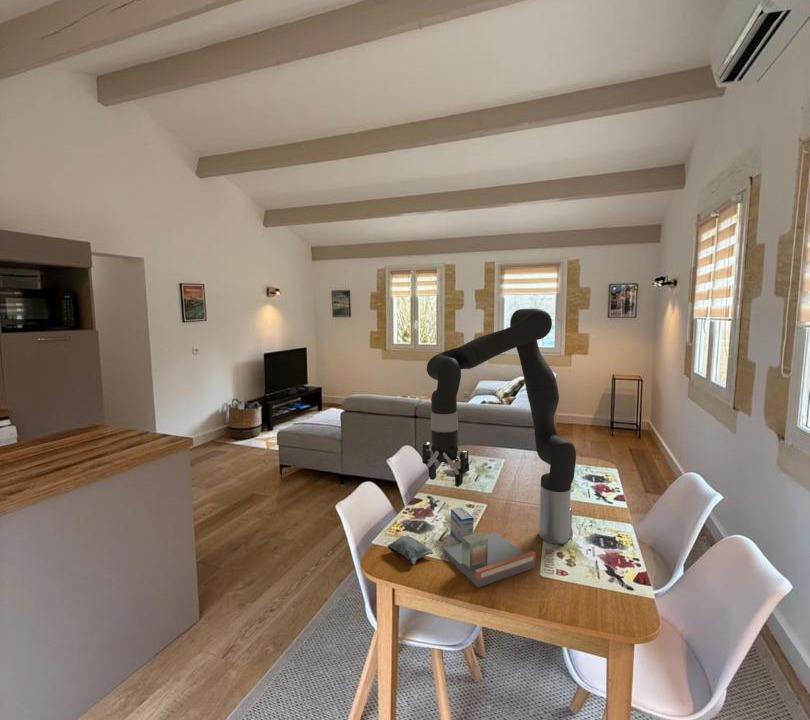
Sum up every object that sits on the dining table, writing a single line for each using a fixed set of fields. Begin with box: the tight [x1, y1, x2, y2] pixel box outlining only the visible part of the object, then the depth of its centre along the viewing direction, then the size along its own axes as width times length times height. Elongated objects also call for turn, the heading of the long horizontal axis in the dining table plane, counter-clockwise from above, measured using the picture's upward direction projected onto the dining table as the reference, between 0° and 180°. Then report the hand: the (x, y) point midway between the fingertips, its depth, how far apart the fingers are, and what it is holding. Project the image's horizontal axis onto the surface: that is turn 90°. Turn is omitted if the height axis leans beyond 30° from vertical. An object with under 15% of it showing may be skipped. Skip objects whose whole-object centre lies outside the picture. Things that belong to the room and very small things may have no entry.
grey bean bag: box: [387, 534, 434, 565], centre depth 132 cm, size 9×12×5 cm
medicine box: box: [449, 507, 475, 543], centre depth 142 cm, size 8×4×9 cm, turn 21°
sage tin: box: [462, 531, 488, 571], centre depth 124 cm, size 6×4×8 cm
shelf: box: [442, 531, 536, 588], centre depth 129 cm, size 20×18×4 cm
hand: (445, 482), depth 124 cm, fingers open, 8 cm apart
